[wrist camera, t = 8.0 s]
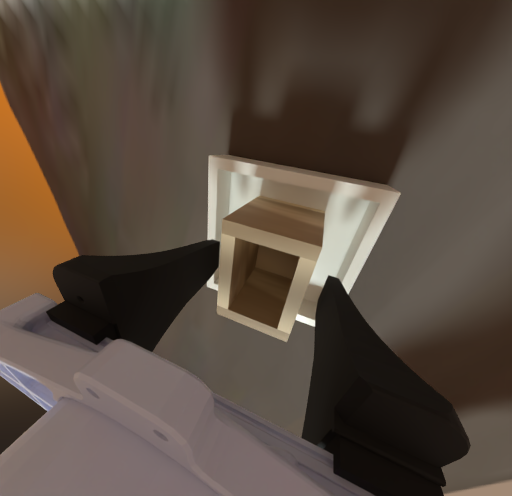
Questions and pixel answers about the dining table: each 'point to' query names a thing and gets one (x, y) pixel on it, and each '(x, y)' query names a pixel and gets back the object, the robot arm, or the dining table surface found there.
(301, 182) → the white square tray
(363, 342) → the robot arm
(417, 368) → the dining table surface
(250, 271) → the pine crate
